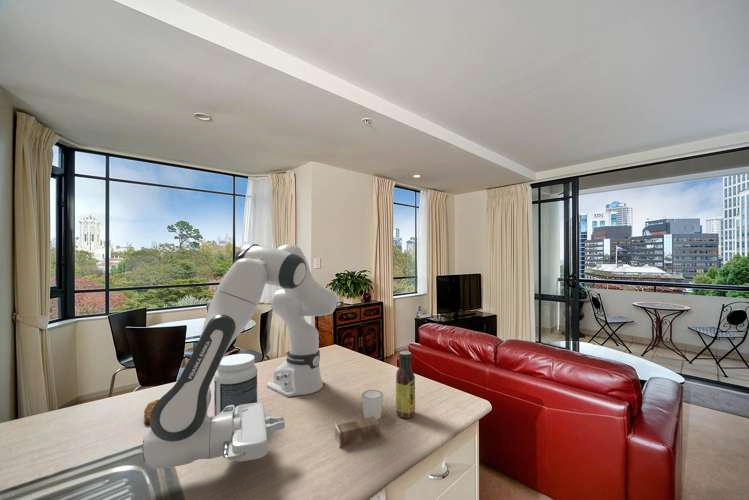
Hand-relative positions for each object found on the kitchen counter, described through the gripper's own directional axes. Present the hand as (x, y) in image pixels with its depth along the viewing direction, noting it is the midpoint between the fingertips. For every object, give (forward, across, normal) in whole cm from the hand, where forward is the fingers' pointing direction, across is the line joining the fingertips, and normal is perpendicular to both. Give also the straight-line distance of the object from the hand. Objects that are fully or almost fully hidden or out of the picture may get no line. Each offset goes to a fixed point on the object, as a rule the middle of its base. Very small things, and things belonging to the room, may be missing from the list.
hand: (284, 422), depth 80 cm
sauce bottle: (+39, +6, +9) cm, 41 cm away
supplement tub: (-12, +27, +9) cm, 31 cm away
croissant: (-36, +38, +9) cm, 53 cm away
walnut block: (+14, 0, +7) cm, 16 cm away
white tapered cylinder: (+29, +10, +9) cm, 32 cm away
